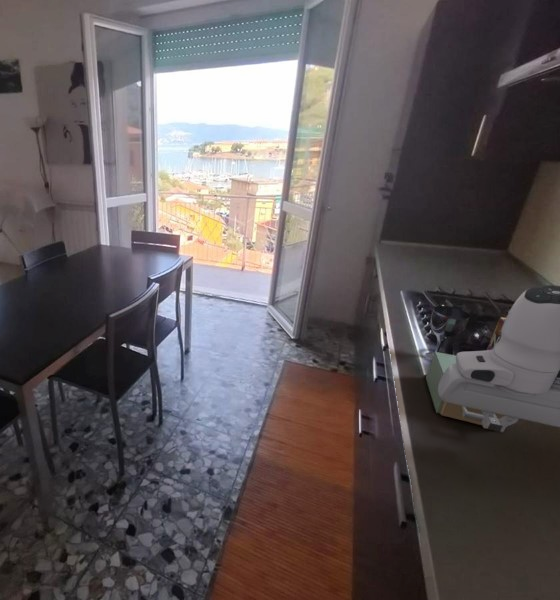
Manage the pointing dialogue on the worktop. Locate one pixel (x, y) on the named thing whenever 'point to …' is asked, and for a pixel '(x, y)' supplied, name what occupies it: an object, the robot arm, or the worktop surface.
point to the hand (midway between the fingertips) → (491, 428)
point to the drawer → (465, 413)
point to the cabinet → (438, 376)
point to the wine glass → (447, 324)
